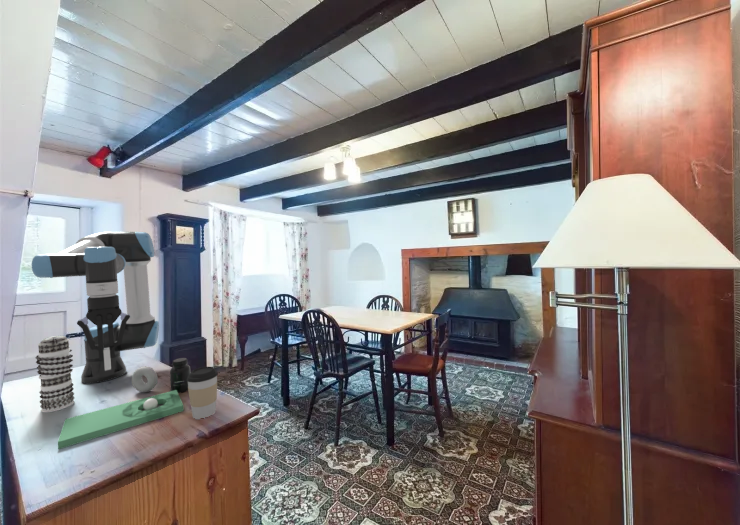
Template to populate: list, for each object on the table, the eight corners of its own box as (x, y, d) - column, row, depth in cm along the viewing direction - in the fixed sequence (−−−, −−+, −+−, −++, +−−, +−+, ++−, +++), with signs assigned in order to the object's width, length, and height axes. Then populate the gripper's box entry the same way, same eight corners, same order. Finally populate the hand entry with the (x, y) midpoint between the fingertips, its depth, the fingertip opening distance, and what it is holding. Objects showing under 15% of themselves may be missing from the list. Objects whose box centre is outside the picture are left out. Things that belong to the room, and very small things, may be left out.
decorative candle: (39, 407, 110) (34, 338, 109) (74, 397, 116) (70, 332, 116) (38, 416, 103) (34, 342, 103) (76, 405, 110) (72, 336, 109)
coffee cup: (187, 424, 95) (185, 376, 95) (189, 411, 103) (187, 367, 103) (219, 416, 99) (217, 370, 99) (219, 404, 107) (217, 362, 107)
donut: (160, 390, 121) (159, 365, 120) (153, 394, 117) (152, 368, 117) (137, 389, 122) (136, 365, 121) (129, 393, 118) (128, 368, 118)
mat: (66, 425, 97) (65, 419, 97) (176, 394, 116) (176, 389, 116) (58, 449, 85) (57, 442, 84) (183, 410, 104) (183, 405, 103)
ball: (140, 401, 104) (153, 393, 106) (146, 410, 105) (159, 402, 108) (140, 406, 101) (154, 398, 103) (147, 415, 102) (160, 407, 104)
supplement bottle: (176, 395, 116) (174, 364, 115) (167, 391, 119) (165, 361, 119) (194, 388, 121) (193, 358, 121) (185, 384, 125) (184, 355, 125)
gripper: (73, 299, 89) (78, 378, 91) (129, 294, 98) (134, 366, 99) (75, 296, 95) (81, 370, 96) (129, 292, 103) (133, 360, 105)
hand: (108, 368), depth 98 cm, fingers closed
